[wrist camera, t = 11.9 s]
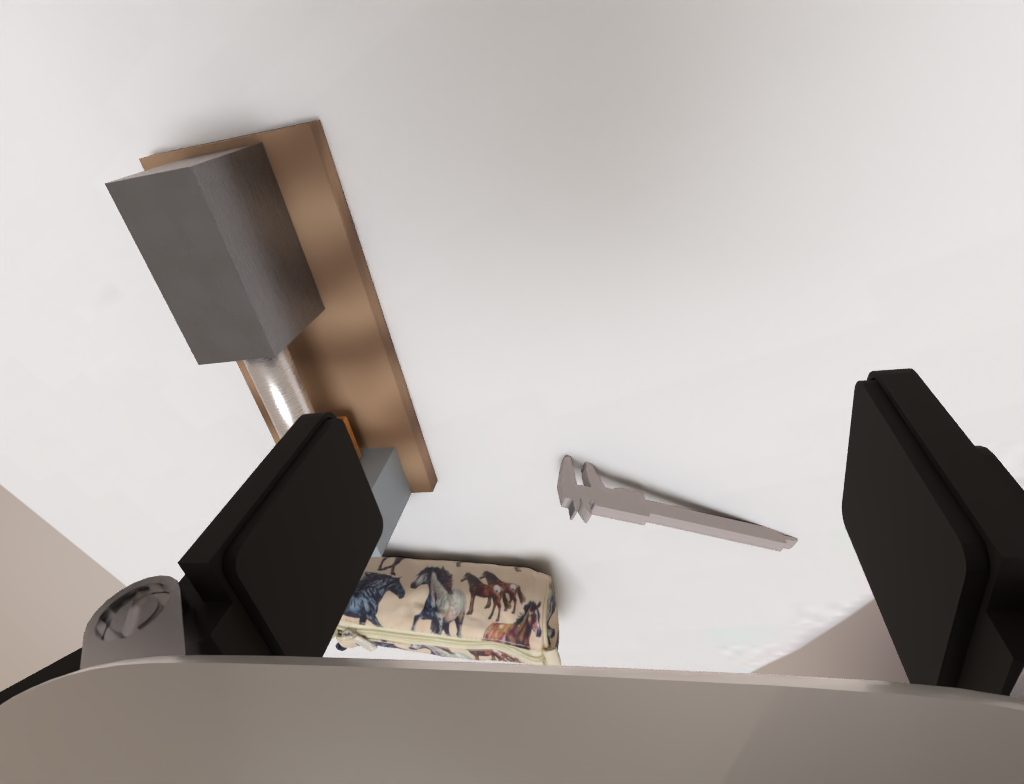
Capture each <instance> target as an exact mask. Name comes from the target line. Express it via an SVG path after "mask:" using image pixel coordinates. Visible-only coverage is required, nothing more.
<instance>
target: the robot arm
mask: <svg viewBox="0 0 1024 784" xmlns="http://www.w3.org/2000/svg"><path fill="white" fill-rule="evenodd" d="M842 515H843V521H844V524H845V527H846V530H847V532H848V535H849V537H850V540H851V542H852V544H853V547H854V549H855V552H856V554H857V556H858V559H859V561H860V564H861V566H862V568H863V571H864V573H865V576H866V578H867V581H868V583H869V585H870V588H871V590H872V593H873V595H874V597H875V600H876V602H877V605H878V607H879V609H880V612H881V614H882V616H883V619H884V622H885V624H886V626H887V629H888V631H889V634H890V636H891V638H892V641H893V643H894V645H895V648H896V650H897V653H898V655H899V658H900V660H901V663H902V665H903V667H904V669H905V672H906V675H907V677H908V679H909V682H910V683H900V682H890V681H872V680H856V679H855V680H854V679H839V678H821V677H803V676H786V675H769V674H748V673H725V672H701V671H678V670H654V669H631V668H607V667H583V666H557V665H531V664H504V663H477V662H449V661H422V660H392V659H360V658H328V657H323V655H324V653H325V651H326V649H327V647H328V645H329V643H330V641H331V638H332V636H333V634H334V632H335V630H336V628H337V626H338V624H339V622H340V620H341V618H342V616H343V614H344V612H345V610H346V608H347V605H348V603H349V601H350V599H351V597H352V595H353V593H354V591H355V589H356V587H357V585H358V583H359V581H360V579H361V577H362V575H363V572H364V570H365V568H366V566H367V564H368V562H369V560H370V558H371V556H372V554H373V552H374V550H375V548H376V546H377V544H378V542H379V539H380V537H381V535H382V532H383V518H382V515H381V512H380V510H379V507H378V505H377V502H376V500H375V497H374V495H373V492H372V490H371V487H370V485H369V482H368V480H367V477H366V475H365V472H364V470H363V467H362V465H361V462H360V460H359V457H358V455H357V452H356V450H355V447H354V445H353V442H352V440H351V437H350V435H349V432H348V430H347V427H346V425H345V423H344V421H343V420H342V419H339V418H337V417H336V416H335V415H334V414H333V413H331V412H322V413H309V414H302V415H301V416H300V417H299V418H298V419H297V420H296V421H295V423H294V424H293V425H292V426H291V427H290V429H289V430H288V431H287V432H286V433H285V435H284V436H283V437H282V438H281V439H280V441H279V442H278V443H277V444H276V445H275V447H274V448H273V449H272V450H271V451H270V453H269V454H268V455H267V456H266V457H265V459H264V460H263V461H262V462H261V463H260V465H259V466H258V467H257V468H256V469H255V471H254V472H253V473H252V474H251V475H250V477H249V478H248V479H247V480H246V481H245V483H244V484H243V485H242V486H241V487H240V489H239V490H238V491H237V492H236V493H235V495H234V496H233V497H232V498H231V499H230V501H229V502H228V503H227V504H226V505H225V507H224V508H223V509H222V510H221V511H220V513H219V514H218V515H217V516H216V517H215V519H214V520H213V521H212V522H211V523H210V525H209V526H208V527H207V528H206V529H205V531H204V532H203V533H202V534H201V535H200V537H199V538H198V539H197V540H196V541H195V543H194V544H193V545H192V546H191V547H190V549H189V550H188V551H187V552H186V553H185V555H184V556H183V557H182V558H181V559H180V561H179V562H178V564H179V565H180V567H181V568H182V570H183V571H184V573H185V575H184V577H183V578H182V579H181V580H180V582H179V583H178V581H177V580H175V579H174V578H172V577H170V576H161V575H160V576H154V577H149V578H146V579H143V580H140V581H138V582H135V583H133V584H131V585H129V586H128V587H126V588H124V589H122V590H121V591H119V592H118V593H116V594H115V595H114V596H112V597H111V598H110V599H108V600H107V601H106V602H105V603H104V604H103V605H102V606H101V607H100V608H99V609H98V610H97V611H96V612H95V613H94V615H93V616H92V618H91V620H90V621H89V622H88V624H87V627H86V629H85V632H84V637H83V647H82V648H80V649H78V650H77V651H75V652H73V653H71V654H69V655H67V656H65V657H64V658H62V659H60V660H58V661H56V662H54V663H53V664H51V665H49V666H47V667H45V668H43V669H42V670H40V671H38V672H36V673H35V674H32V675H31V676H29V677H27V678H25V679H23V680H22V681H20V682H18V683H16V684H14V685H12V686H10V687H9V688H7V689H5V690H3V691H2V692H0V784H1024V490H1023V489H1022V488H1021V487H1020V485H1019V484H1018V483H1017V482H1016V480H1015V479H1014V478H1013V477H1012V476H1011V474H1010V473H1009V472H1008V471H1007V470H1006V468H1005V467H1004V466H1003V465H1002V463H1001V462H1000V461H999V460H998V459H997V457H996V456H995V455H994V454H993V453H992V452H991V451H990V450H989V449H988V448H985V447H982V446H974V445H973V443H972V442H971V441H970V440H969V438H968V437H967V436H966V435H965V433H964V432H963V431H962V429H961V428H960V427H959V426H958V424H957V423H956V422H955V421H954V419H953V418H952V417H951V416H950V414H949V413H948V412H947V411H946V409H945V408H944V407H943V406H942V404H941V403H940V402H939V400H938V399H937V398H936V397H935V395H934V394H933V393H932V392H931V390H930V389H929V388H928V387H927V385H926V384H925V383H924V382H923V380H922V379H921V378H920V377H919V375H918V374H917V373H916V372H915V371H914V370H913V369H910V368H908V369H895V370H881V371H872V372H870V373H869V375H868V378H867V380H865V381H858V382H857V383H856V385H855V390H854V399H853V408H852V417H851V427H850V436H849V445H848V454H847V463H846V472H845V481H844V490H843V499H842Z"/></svg>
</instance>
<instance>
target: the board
mask: <svg viewBox="0 0 1024 784" xmlns="http://www.w3.org/2000/svg"><path fill="white" fill-rule="evenodd" d="M260 142H262V143H263V145H264V148H265V150H266V153H267V156H268V158H269V161H270V164H271V166H272V169H273V172H274V174H275V177H276V180H277V182H278V185H279V188H280V190H281V193H282V196H283V198H284V201H285V204H286V206H287V209H288V212H289V214H290V217H291V219H292V222H293V225H294V227H295V230H296V233H297V235H298V238H299V241H300V243H301V246H302V249H303V251H304V254H305V257H306V259H307V262H308V265H309V267H310V270H311V273H312V275H313V278H314V280H315V283H316V286H317V288H318V291H319V294H320V296H321V299H322V302H323V304H324V307H325V310H324V311H323V312H322V313H321V314H320V315H319V316H318V317H317V318H316V319H315V320H313V321H312V322H311V323H310V324H309V325H308V326H307V327H306V328H305V329H304V330H303V331H302V332H301V333H300V334H299V335H298V336H297V337H296V338H295V339H293V340H292V341H291V342H290V343H289V344H288V345H287V348H288V350H289V352H290V355H291V357H292V359H293V362H294V364H295V366H296V369H297V371H298V373H299V376H300V378H301V381H302V383H303V385H304V388H305V390H306V392H307V395H308V397H309V399H310V402H311V404H312V406H313V409H314V411H315V413H322V412H331V413H333V414H334V415H335V416H336V417H340V416H346V417H347V419H348V422H349V424H350V427H351V429H352V432H353V434H354V437H355V439H356V442H357V444H358V447H359V449H370V448H387V447H395V448H396V451H397V454H398V457H399V459H400V462H401V465H402V468H403V471H404V473H405V476H406V479H407V482H408V484H409V487H410V490H411V493H415V492H433V490H434V488H435V485H436V483H437V478H436V475H435V472H434V469H433V466H432V463H431V460H430V456H429V453H428V450H427V447H426V444H425V441H424V438H423V435H422V432H421V429H420V426H419V423H418V420H417V417H416V414H415V411H414V407H413V404H412V401H411V398H410V395H409V392H408V389H407V386H406V383H405V380H404V377H403V374H402V371H401V368H400V365H399V361H398V358H397V355H396V352H395V349H394V346H393V343H392V340H391V337H390V334H389V331H388V328H387V325H386V322H385V319H384V315H383V312H382V309H381V306H380V303H379V300H378V297H377V294H376V291H375V288H374V285H373V282H372V279H371V276H370V273H369V270H368V266H367V263H366V260H365V257H364V254H363V251H362V248H361V245H360V242H359V239H358V236H357V233H356V230H355V227H354V224H353V220H352V217H351V214H350V211H349V208H348V205H347V202H346V199H345V196H344V193H343V190H342V187H341V184H340V181H339V178H338V174H337V171H336V168H335V165H334V162H333V159H332V156H331V153H330V150H329V147H328V144H327V141H326V138H325V135H324V132H323V129H322V125H321V122H320V120H317V121H312V122H307V123H303V124H298V125H293V126H288V127H284V128H279V129H274V130H269V131H264V132H260V133H255V134H250V135H245V136H241V137H236V138H231V139H226V140H222V141H217V142H212V143H207V144H202V145H198V146H193V147H188V148H183V149H179V150H174V151H169V152H164V153H160V154H155V155H151V156H148V157H144V158H141V159H139V160H140V162H141V164H142V166H143V168H144V170H145V171H146V170H149V169H152V168H156V167H159V166H162V165H165V164H168V163H171V162H175V161H178V160H181V159H184V158H187V157H192V156H197V155H202V154H207V153H212V152H217V151H221V150H226V149H231V148H236V147H241V146H246V145H251V144H256V143H260ZM236 362H237V364H238V366H239V368H240V370H241V372H242V374H243V376H244V378H245V380H246V383H247V385H248V387H249V389H250V391H251V393H252V395H253V397H254V399H255V401H256V403H257V405H258V408H259V410H260V412H261V414H262V416H263V418H264V420H265V422H266V424H267V426H268V428H269V430H270V433H271V435H272V437H273V439H274V441H275V443H276V444H277V443H278V442H279V441H280V437H279V435H278V433H277V431H276V429H275V427H274V424H273V422H272V420H271V418H270V416H269V414H268V412H267V410H266V408H265V405H264V403H263V401H262V399H261V397H260V395H259V393H258V391H257V389H256V386H255V384H254V382H253V380H252V378H251V376H250V374H249V372H248V370H247V367H246V365H245V363H244V361H243V360H240V361H236Z"/></svg>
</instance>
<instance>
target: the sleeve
mask: <svg viewBox="0 0 1024 784" xmlns="http://www.w3.org/2000/svg"><path fill="white" fill-rule="evenodd" d="M105 185H106V187H107V189H108V191H109V193H110V195H111V196H112V198H113V200H114V202H115V204H116V206H117V208H118V210H119V212H120V214H121V216H122V218H123V220H124V222H125V223H126V225H127V227H128V229H129V231H130V233H131V235H132V237H133V239H134V241H135V243H136V245H137V247H138V249H139V251H140V252H141V254H142V256H143V258H144V260H145V262H146V264H147V266H148V268H149V270H150V272H151V274H152V276H153V278H154V280H155V281H156V283H157V285H158V287H159V289H160V291H161V293H162V295H163V297H164V299H165V301H166V303H167V305H168V307H169V308H170V310H171V312H172V314H173V316H174V318H175V320H176V322H177V324H178V326H179V328H180V330H181V332H182V334H183V336H184V337H185V339H186V341H187V343H188V345H189V347H190V349H191V351H192V353H193V355H194V357H195V359H196V361H197V363H198V365H201V364H211V363H221V362H230V361H240V360H250V359H260V358H269V357H276V356H277V355H278V354H279V353H280V352H281V351H282V350H283V349H284V348H285V347H286V346H287V345H288V344H289V343H290V342H291V341H292V340H293V339H295V338H296V337H297V336H298V335H299V334H300V333H301V332H302V331H303V330H304V329H305V328H306V327H307V326H308V325H309V324H310V323H311V322H312V321H313V320H315V319H316V318H317V317H318V316H319V315H320V314H321V313H322V312H323V311H324V310H325V307H324V304H323V302H322V299H321V296H320V294H319V291H318V288H317V286H316V283H315V280H314V278H313V275H312V273H311V270H310V267H309V265H308V262H307V259H306V257H305V254H304V251H303V249H302V246H301V243H300V241H299V238H298V235H297V233H296V230H295V227H294V225H293V222H292V219H291V217H290V214H289V212H288V209H287V206H286V204H285V201H284V198H283V196H282V193H281V190H280V188H279V185H278V182H277V180H276V177H275V174H274V172H273V169H272V166H271V164H270V161H269V158H268V156H267V153H266V150H265V148H264V145H263V143H262V142H260V143H256V144H251V145H246V146H241V147H236V148H231V149H226V150H221V151H217V152H212V153H207V154H202V155H197V156H192V157H187V158H184V159H181V160H178V161H175V162H171V163H168V164H165V165H162V166H159V167H156V168H152V169H149V170H146V171H143V172H140V173H137V174H134V175H130V176H127V177H124V178H121V179H118V180H115V181H111V182H108V183H105Z"/></svg>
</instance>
